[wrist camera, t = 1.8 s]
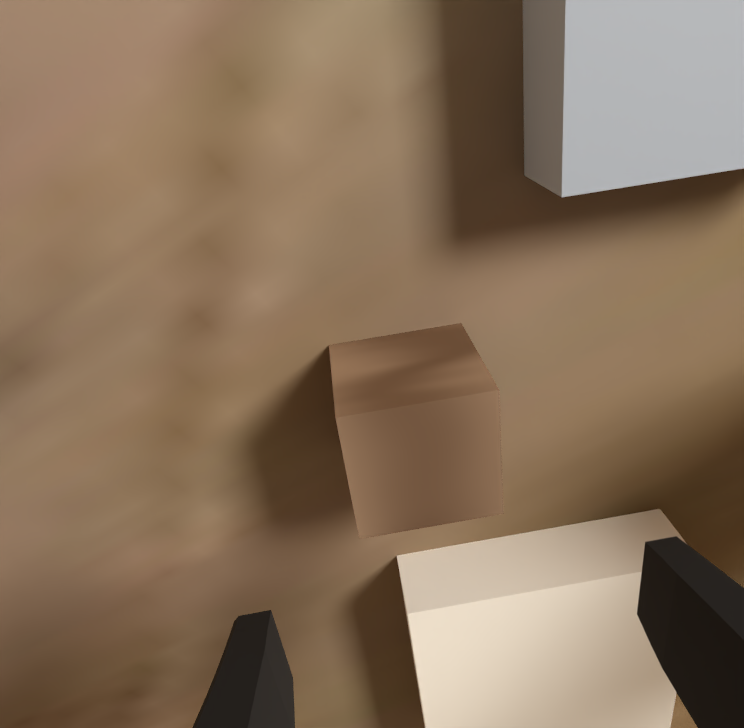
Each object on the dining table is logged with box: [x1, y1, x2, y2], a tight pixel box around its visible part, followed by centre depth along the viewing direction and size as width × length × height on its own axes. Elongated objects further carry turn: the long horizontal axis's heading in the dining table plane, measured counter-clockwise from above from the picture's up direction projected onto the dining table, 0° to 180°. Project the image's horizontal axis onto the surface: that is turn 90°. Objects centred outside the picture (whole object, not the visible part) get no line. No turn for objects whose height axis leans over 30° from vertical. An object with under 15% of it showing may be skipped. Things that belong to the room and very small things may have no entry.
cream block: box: [397, 509, 687, 728], centre depth 24 cm, size 10×10×3 cm
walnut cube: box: [329, 323, 504, 539], centre depth 17 cm, size 4×4×4 cm
